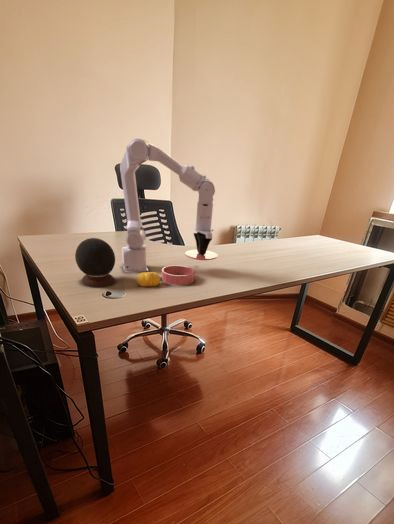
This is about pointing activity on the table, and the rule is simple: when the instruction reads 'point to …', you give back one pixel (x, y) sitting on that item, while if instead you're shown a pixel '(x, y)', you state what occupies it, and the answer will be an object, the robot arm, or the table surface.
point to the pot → (177, 279)
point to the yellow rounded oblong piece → (148, 279)
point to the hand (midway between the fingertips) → (201, 253)
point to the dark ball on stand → (95, 262)
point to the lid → (196, 255)
